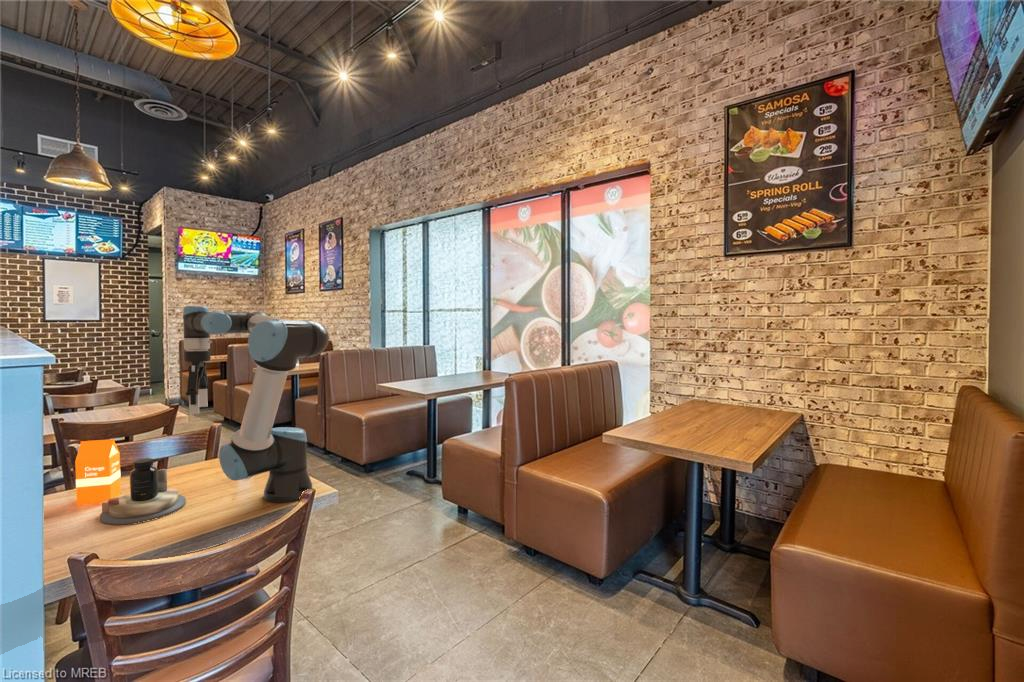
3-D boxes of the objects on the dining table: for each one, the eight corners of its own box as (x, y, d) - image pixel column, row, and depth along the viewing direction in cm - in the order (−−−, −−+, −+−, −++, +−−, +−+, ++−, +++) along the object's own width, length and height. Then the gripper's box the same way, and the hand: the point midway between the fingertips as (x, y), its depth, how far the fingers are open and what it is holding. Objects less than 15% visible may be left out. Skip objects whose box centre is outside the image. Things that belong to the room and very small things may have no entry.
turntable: (144, 494, 152) (144, 466, 151) (191, 496, 150) (190, 469, 149) (92, 516, 135) (91, 485, 134) (144, 519, 133) (143, 488, 132)
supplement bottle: (132, 495, 143) (131, 458, 143) (159, 491, 147) (158, 455, 146) (128, 503, 137) (127, 465, 137) (156, 499, 141) (155, 461, 140)
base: (193, 493, 156) (193, 482, 156) (173, 518, 136) (173, 506, 136) (118, 501, 148) (117, 489, 148) (85, 530, 129) (84, 516, 129)
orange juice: (88, 496, 152) (86, 438, 151) (121, 493, 155) (119, 436, 154) (76, 505, 145) (74, 444, 144) (110, 502, 148) (108, 442, 147)
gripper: (202, 352, 148) (203, 416, 149) (216, 347, 171) (218, 403, 172) (174, 352, 145) (176, 418, 146) (192, 348, 168) (194, 404, 169)
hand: (198, 410), depth 159 cm, fingers open, 13 cm apart
